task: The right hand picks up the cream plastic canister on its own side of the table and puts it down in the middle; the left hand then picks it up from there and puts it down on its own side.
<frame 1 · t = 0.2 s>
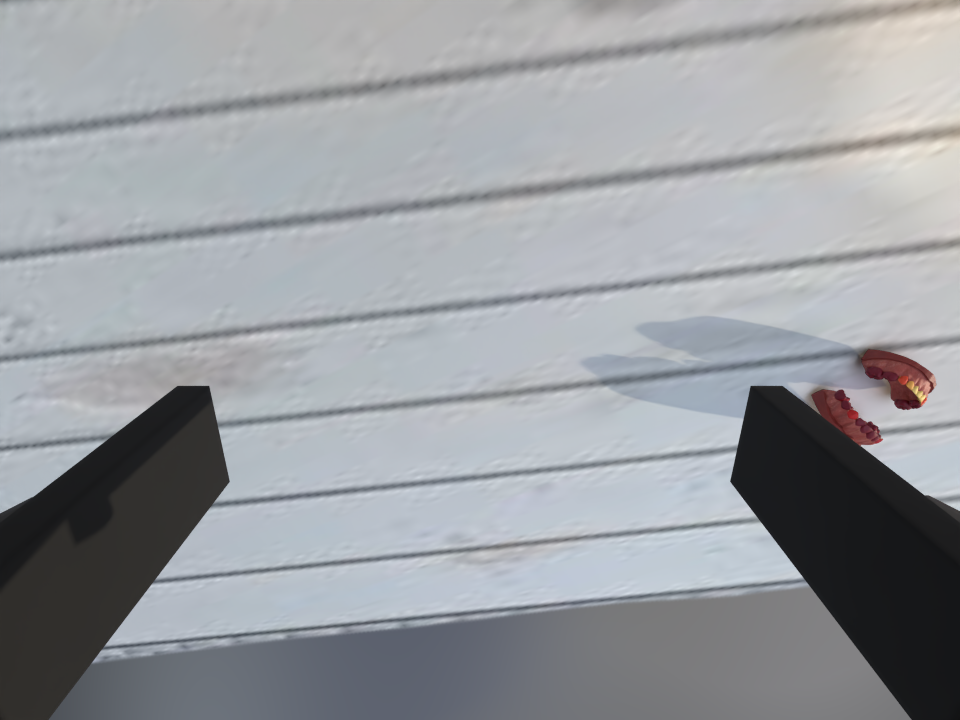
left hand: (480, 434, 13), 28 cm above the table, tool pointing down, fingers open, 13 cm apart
dental model: (856, 391, 43), on the table
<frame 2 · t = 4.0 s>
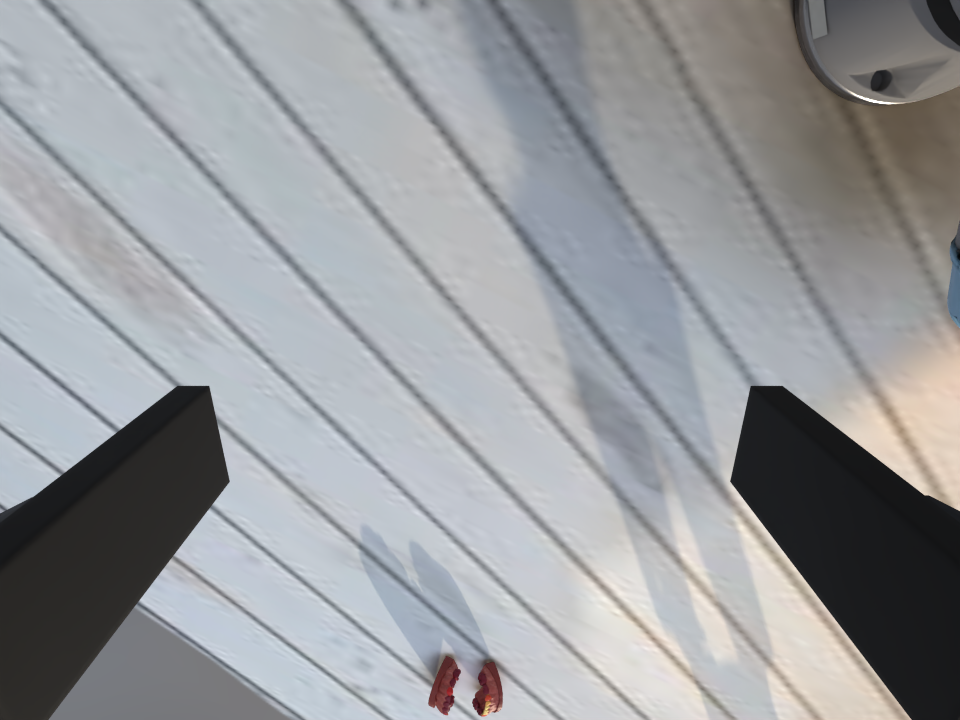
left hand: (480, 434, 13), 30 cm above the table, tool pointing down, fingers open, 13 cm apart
dental model: (466, 673, 59), on the table
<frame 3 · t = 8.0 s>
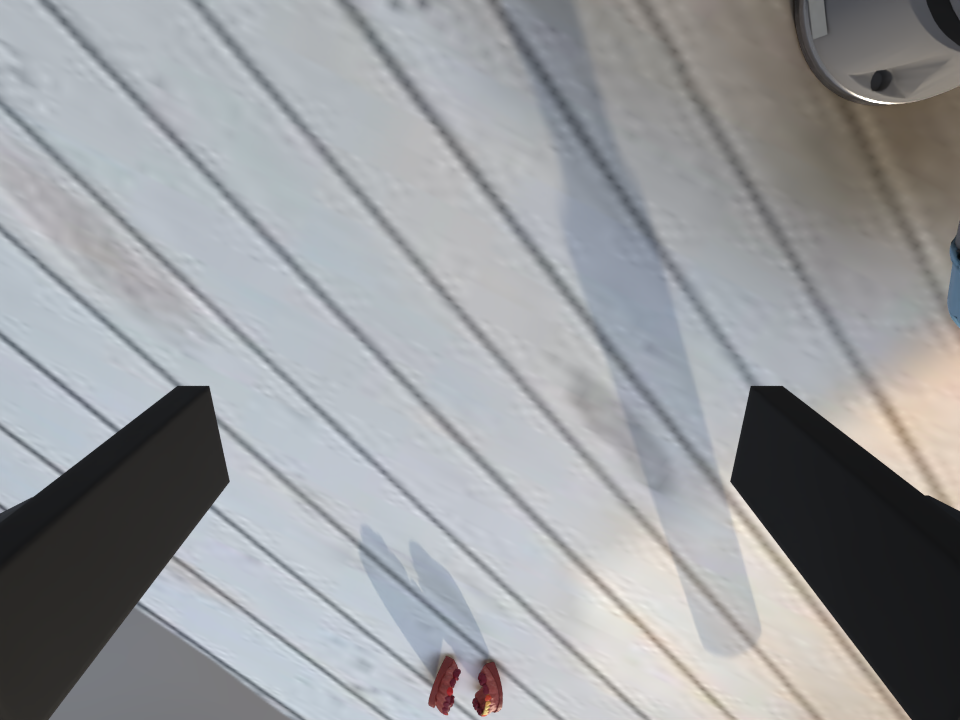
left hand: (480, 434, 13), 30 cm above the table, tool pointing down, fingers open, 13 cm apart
dental model: (466, 673, 59), on the table
when the right hand's fingers open (5 cm above the table, at t = 12.3 s): canister drops 2 cm, on the table.
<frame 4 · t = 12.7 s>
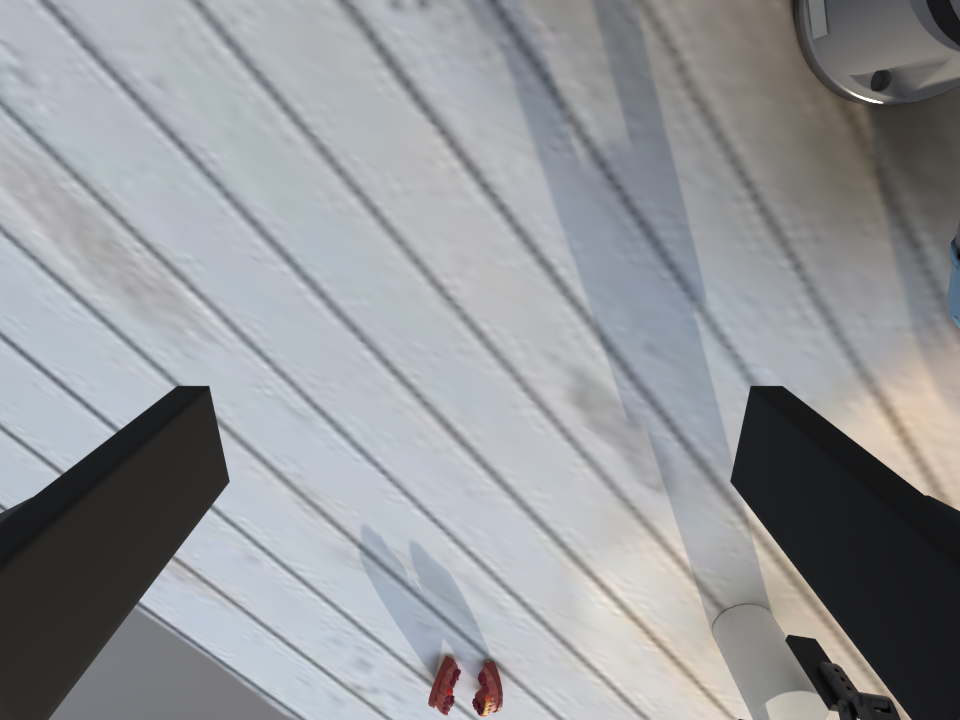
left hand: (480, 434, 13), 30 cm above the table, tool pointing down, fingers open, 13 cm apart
dental model: (466, 673, 59), on the table
canister: (742, 626, 56), on the table
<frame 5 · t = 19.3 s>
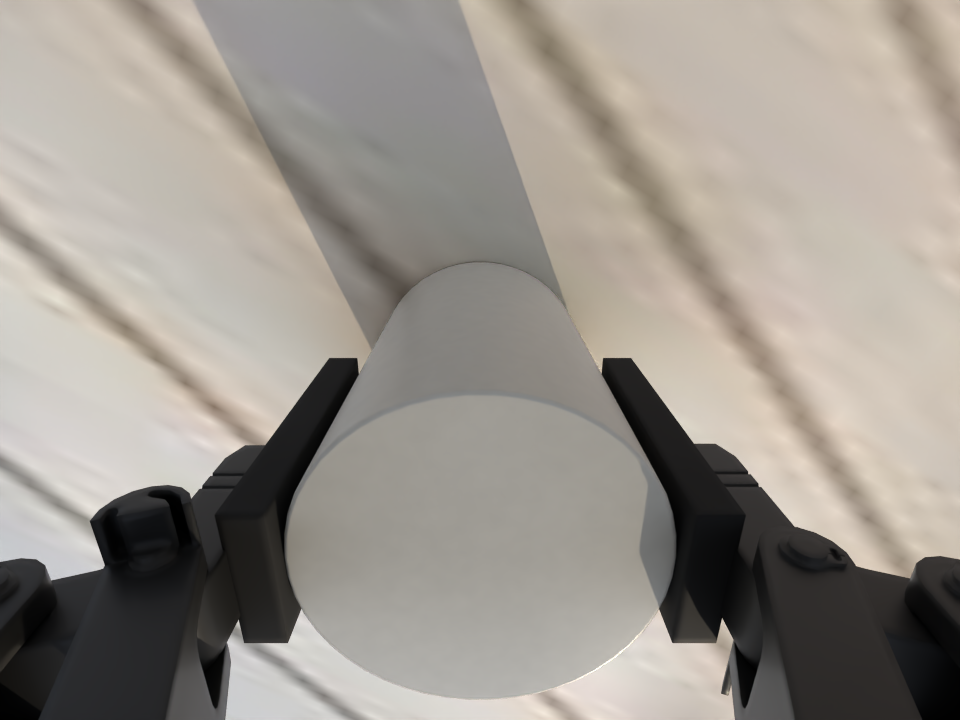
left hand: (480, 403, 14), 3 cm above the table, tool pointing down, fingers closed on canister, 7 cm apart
canister: (480, 358, 18), on the table, touching left hand
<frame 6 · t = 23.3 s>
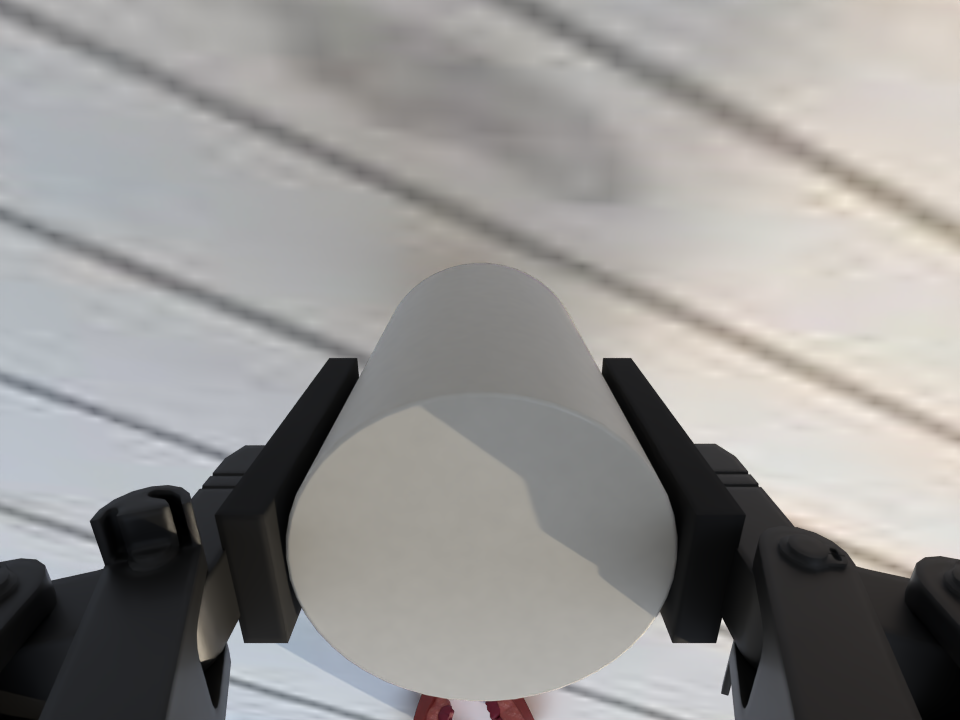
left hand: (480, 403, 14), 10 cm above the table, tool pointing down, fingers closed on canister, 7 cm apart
dental model: (479, 704, 33), on the table
canister: (481, 359, 18), point 6 cm above the table, touching left hand
when the left hand's fingers open (5 cm above the table, at t = 27.7 s): canister drops 2 cm, on the table.
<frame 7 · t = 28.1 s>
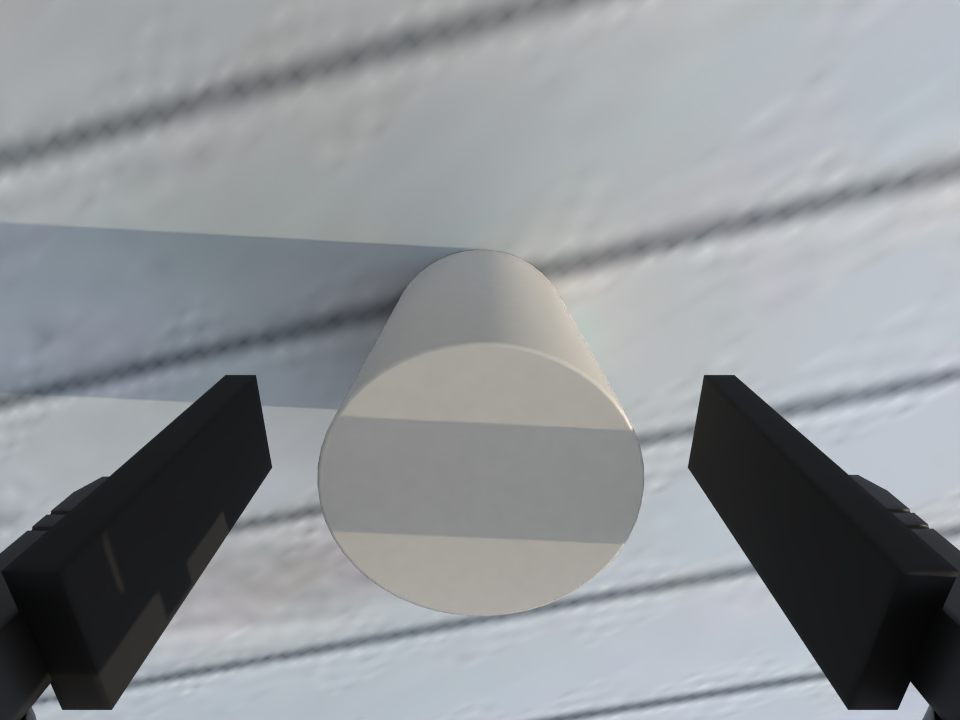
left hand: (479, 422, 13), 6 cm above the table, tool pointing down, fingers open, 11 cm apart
canister: (480, 338, 19), on the table
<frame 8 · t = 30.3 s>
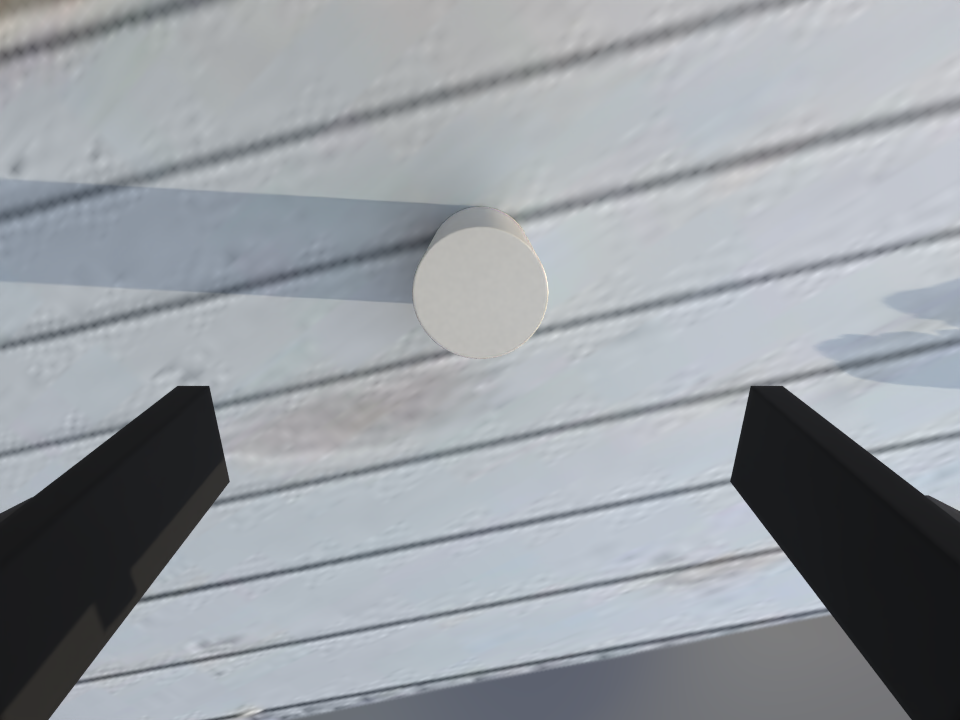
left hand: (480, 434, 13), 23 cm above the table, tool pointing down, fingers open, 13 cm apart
canister: (480, 258, 34), on the table
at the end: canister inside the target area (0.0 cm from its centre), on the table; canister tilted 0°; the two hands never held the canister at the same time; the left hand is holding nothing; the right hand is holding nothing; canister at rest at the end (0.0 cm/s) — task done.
